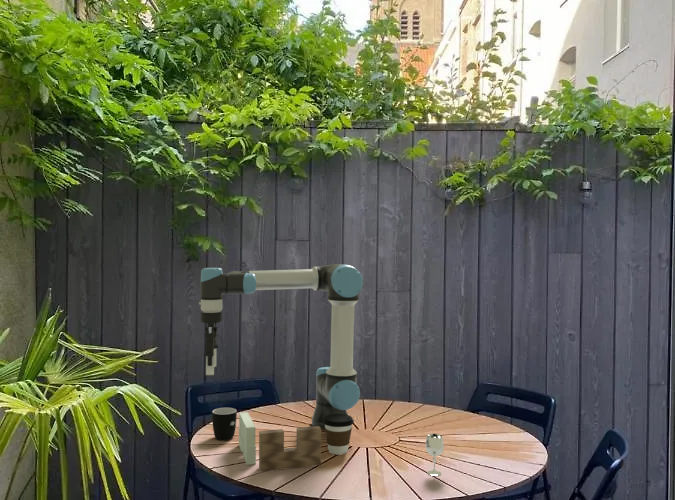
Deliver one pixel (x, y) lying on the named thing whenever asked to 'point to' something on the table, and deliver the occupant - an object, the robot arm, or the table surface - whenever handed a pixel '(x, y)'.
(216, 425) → the mug
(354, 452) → the table surface
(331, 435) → the coffee cup
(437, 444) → the wineglass
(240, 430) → the sage plate
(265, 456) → the slotted board
